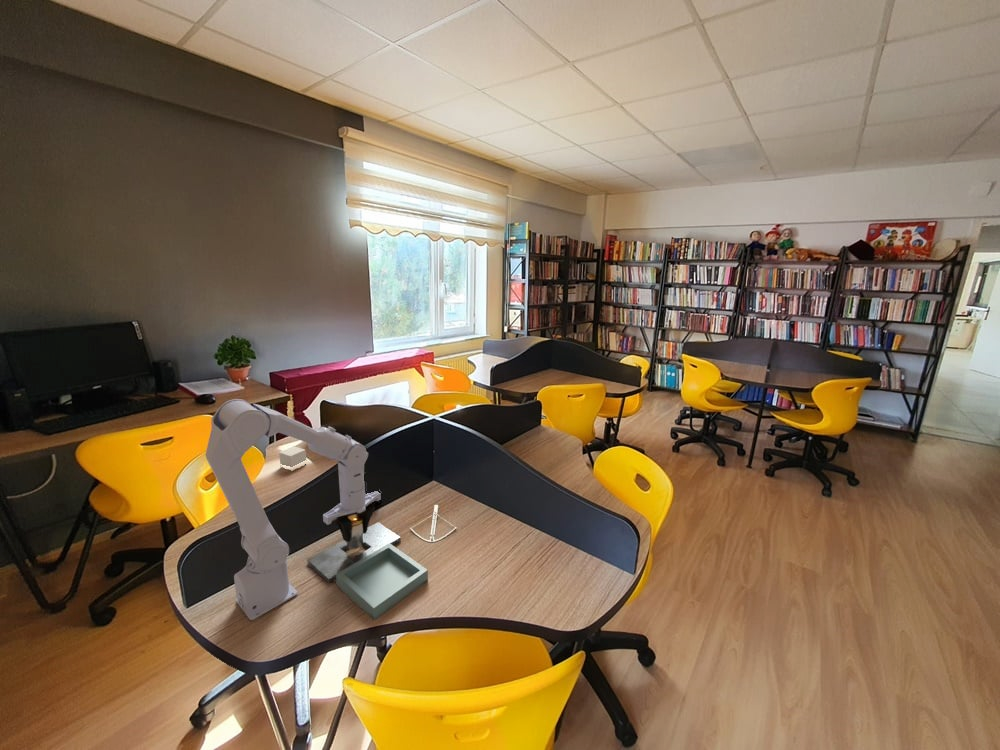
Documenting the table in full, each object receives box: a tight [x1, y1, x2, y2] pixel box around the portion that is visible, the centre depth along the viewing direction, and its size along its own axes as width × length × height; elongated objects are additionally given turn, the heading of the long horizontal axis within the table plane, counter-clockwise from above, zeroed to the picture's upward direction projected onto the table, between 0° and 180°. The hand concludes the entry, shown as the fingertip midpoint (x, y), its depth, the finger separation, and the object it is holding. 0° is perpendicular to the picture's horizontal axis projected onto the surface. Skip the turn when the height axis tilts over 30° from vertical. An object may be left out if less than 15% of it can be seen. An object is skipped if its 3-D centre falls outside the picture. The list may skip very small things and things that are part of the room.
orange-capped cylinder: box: [347, 514, 364, 550], centre depth 101 cm, size 4×4×7 cm
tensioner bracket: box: [306, 521, 402, 584], centre depth 102 cm, size 20×10×1 cm, turn 141°
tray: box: [335, 543, 429, 621], centre depth 92 cm, size 14×14×3 cm
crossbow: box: [409, 504, 457, 543], centre depth 115 cm, size 16×13×2 cm
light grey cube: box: [278, 445, 307, 467], centre depth 144 cm, size 6×6×6 cm
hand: (355, 535), depth 101 cm, fingers closed on orange-capped cylinder, 4 cm apart
